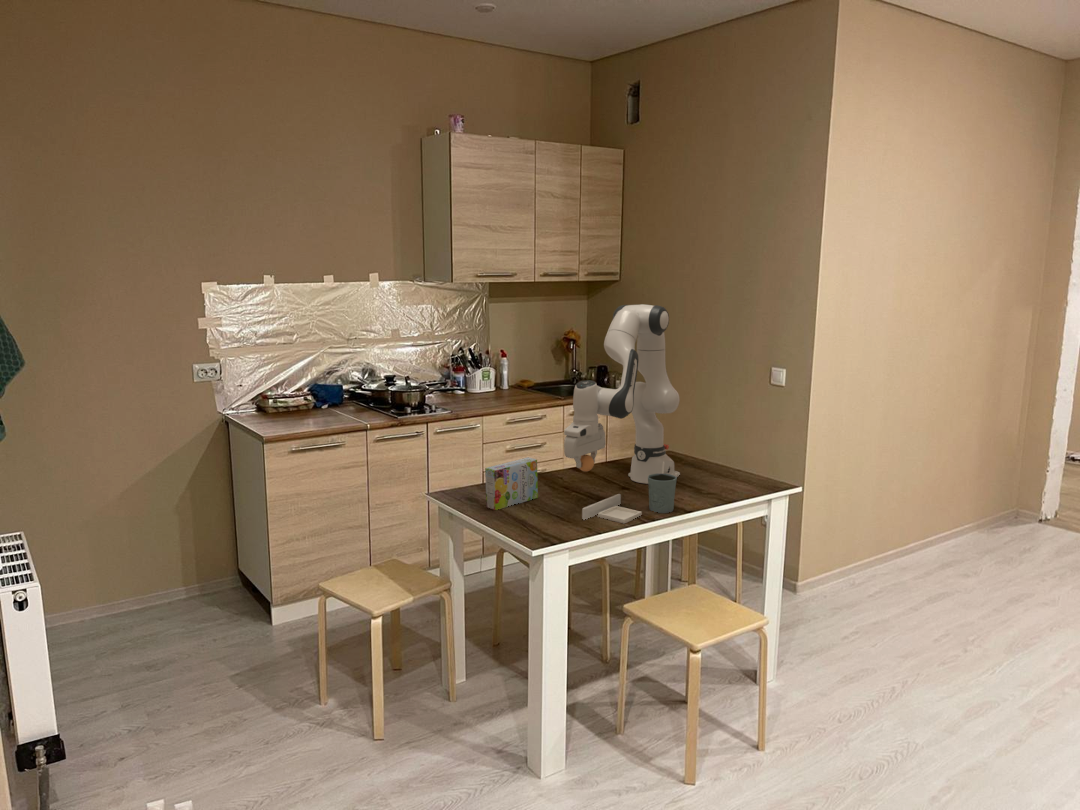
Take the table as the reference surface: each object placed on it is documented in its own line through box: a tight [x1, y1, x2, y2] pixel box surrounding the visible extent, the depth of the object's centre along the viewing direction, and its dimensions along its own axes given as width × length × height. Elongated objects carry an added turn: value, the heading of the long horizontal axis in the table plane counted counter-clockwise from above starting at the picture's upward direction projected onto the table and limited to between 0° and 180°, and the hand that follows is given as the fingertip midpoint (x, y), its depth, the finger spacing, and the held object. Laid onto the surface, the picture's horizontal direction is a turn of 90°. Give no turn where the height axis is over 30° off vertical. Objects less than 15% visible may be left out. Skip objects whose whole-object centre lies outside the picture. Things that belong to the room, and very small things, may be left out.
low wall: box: [581, 493, 622, 521], centre depth 284 cm, size 22×1×4 cm, turn 141°
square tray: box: [597, 505, 643, 525], centre depth 280 cm, size 11×11×1 cm
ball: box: [578, 454, 595, 472], centre depth 286 cm, size 6×6×6 cm
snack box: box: [484, 457, 539, 511], centre depth 294 cm, size 21×6×15 cm, turn 134°
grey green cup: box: [647, 474, 678, 514], centre depth 286 cm, size 10×10×12 cm
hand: (585, 465), depth 286 cm, fingers closed on ball, 6 cm apart
